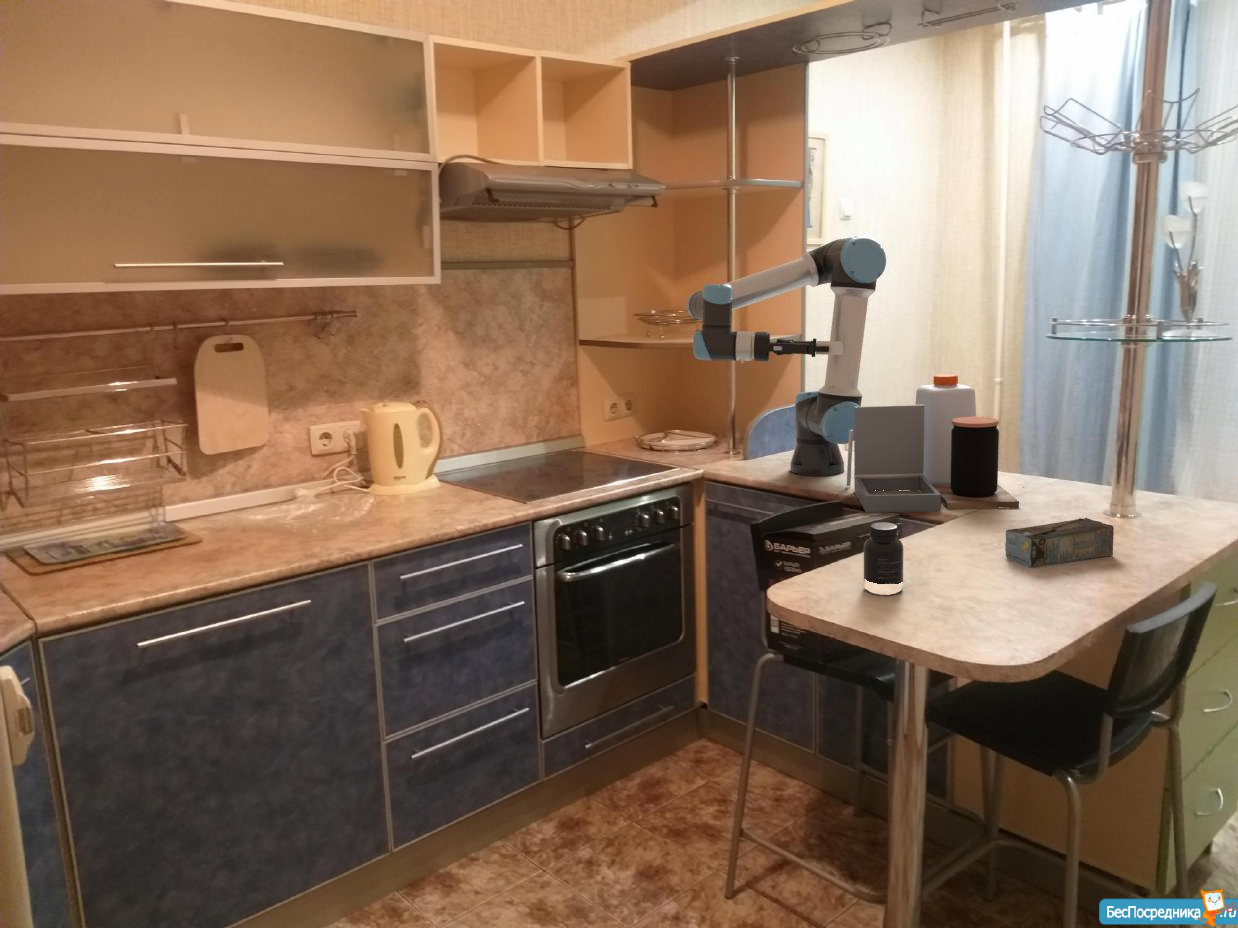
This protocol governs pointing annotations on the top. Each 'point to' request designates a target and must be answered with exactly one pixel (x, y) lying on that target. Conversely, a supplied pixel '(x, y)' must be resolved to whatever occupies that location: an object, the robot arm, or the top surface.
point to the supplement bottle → (883, 554)
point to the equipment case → (890, 459)
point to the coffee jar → (974, 456)
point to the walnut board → (976, 499)
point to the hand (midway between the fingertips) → (842, 348)
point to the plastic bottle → (942, 422)
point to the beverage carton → (1059, 542)
